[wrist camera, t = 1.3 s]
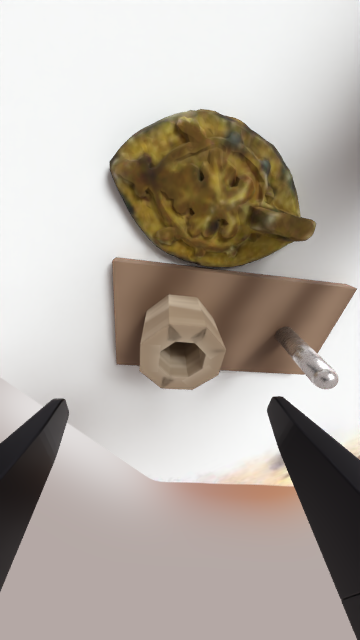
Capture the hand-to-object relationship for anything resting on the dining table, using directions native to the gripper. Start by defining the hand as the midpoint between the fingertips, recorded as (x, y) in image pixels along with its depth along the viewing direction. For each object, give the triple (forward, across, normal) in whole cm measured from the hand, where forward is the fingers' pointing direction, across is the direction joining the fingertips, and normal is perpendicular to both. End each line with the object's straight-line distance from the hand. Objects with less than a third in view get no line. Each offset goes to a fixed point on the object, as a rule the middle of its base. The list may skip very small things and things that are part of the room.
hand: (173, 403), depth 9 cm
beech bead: (+10, -1, +2) cm, 11 cm away
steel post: (+10, -12, +3) cm, 16 cm away
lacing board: (+12, -6, +3) cm, 13 cm away
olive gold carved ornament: (+12, -3, -8) cm, 15 cm away
